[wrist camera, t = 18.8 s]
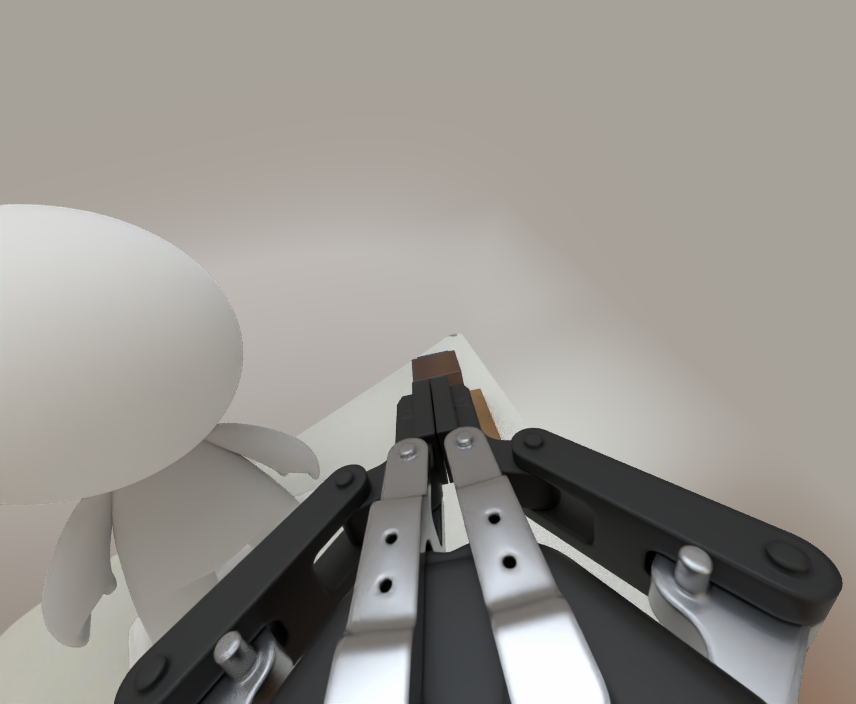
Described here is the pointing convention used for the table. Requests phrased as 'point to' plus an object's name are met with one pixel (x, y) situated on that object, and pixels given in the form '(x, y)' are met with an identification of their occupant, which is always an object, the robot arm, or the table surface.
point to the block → (450, 367)
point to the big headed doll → (129, 418)
